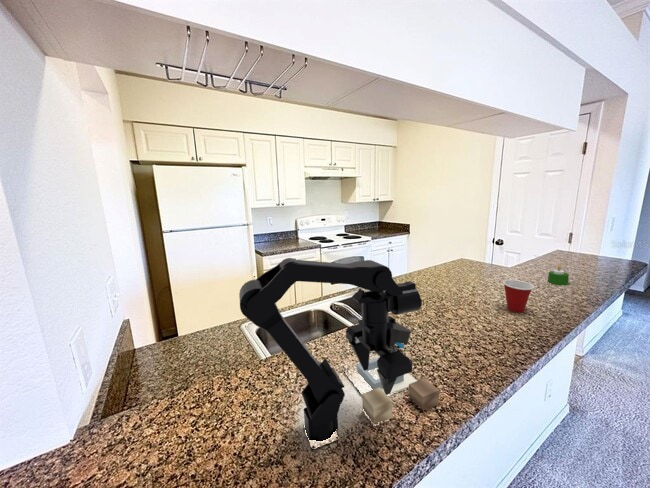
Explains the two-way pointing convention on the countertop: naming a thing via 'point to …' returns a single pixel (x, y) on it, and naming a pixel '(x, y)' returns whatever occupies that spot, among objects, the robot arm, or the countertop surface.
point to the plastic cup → (517, 294)
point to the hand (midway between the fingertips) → (375, 381)
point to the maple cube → (377, 405)
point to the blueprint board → (399, 384)
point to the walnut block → (424, 394)
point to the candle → (558, 277)
